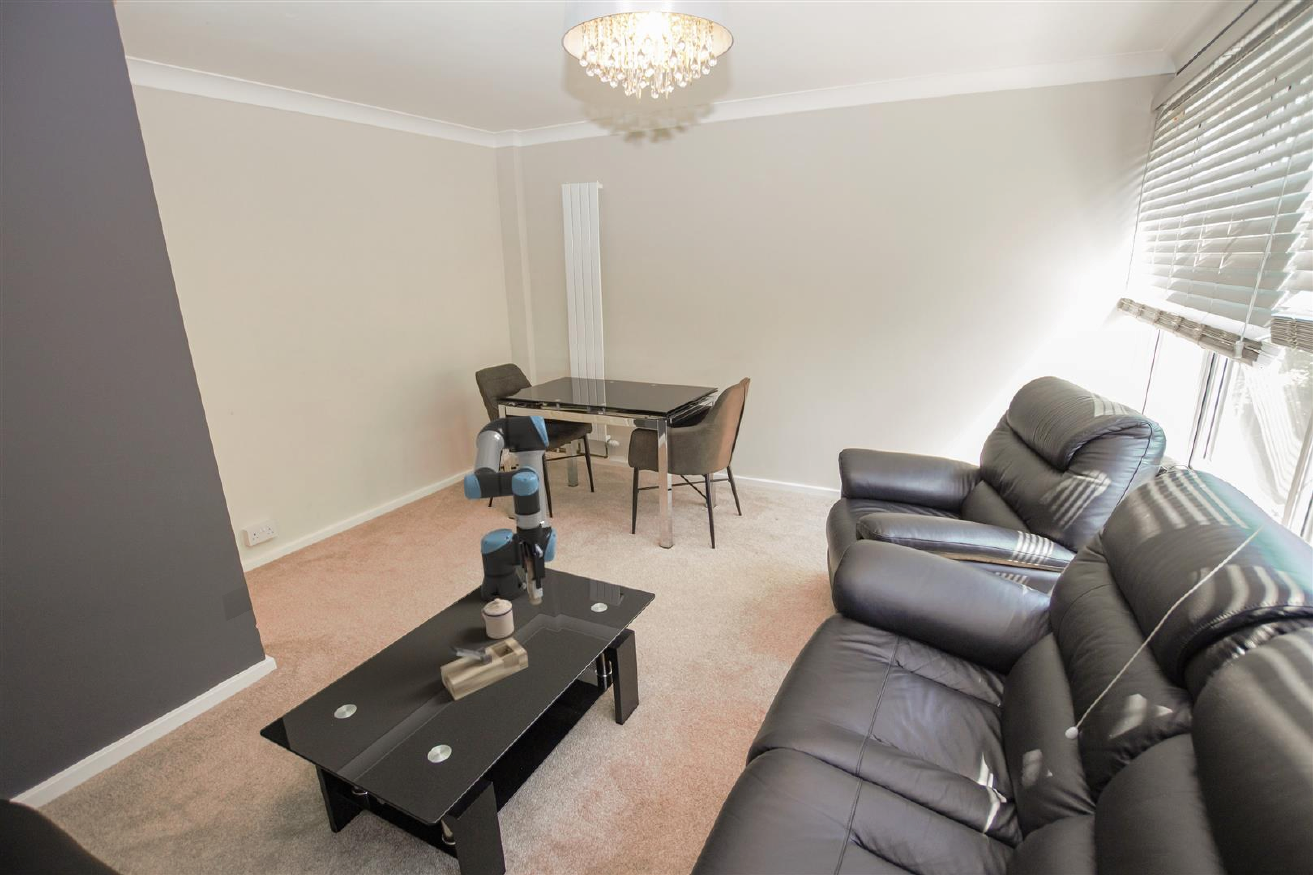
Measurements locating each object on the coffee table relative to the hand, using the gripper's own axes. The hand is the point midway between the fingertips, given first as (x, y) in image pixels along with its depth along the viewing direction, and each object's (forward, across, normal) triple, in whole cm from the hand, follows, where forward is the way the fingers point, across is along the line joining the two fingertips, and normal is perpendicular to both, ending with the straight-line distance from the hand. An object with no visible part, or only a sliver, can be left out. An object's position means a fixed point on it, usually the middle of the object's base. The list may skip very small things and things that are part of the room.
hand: (535, 593), depth 180 cm
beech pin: (+3, 0, 0) cm, 3 cm away
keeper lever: (+8, +3, -24) cm, 26 cm away
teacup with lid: (+18, -15, -7) cm, 25 cm away
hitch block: (+17, +4, -19) cm, 26 cm away
